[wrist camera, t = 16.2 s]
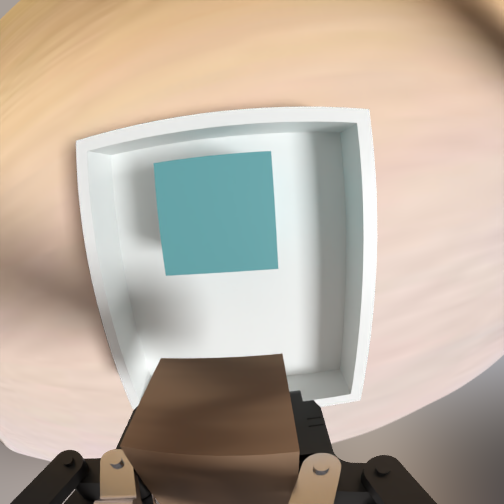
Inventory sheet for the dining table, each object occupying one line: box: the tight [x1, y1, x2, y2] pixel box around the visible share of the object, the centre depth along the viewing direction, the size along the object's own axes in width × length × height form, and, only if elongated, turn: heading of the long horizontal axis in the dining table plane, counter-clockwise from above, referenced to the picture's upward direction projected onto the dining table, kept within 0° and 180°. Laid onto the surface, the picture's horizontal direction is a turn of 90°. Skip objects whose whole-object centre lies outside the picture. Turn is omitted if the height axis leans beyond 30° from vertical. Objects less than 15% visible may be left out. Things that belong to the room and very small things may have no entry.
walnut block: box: [120, 354, 300, 504], centre depth 9 cm, size 5×5×5 cm
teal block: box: [154, 151, 278, 276], centre depth 14 cm, size 5×5×5 cm
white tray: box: [76, 107, 377, 409], centre depth 17 cm, size 16×18×4 cm
